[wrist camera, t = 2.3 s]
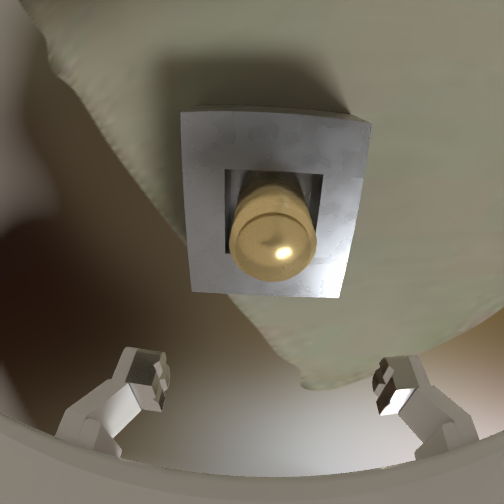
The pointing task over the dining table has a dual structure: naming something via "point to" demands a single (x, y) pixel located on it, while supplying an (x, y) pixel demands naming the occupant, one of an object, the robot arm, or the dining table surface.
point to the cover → (272, 227)
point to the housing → (270, 159)
